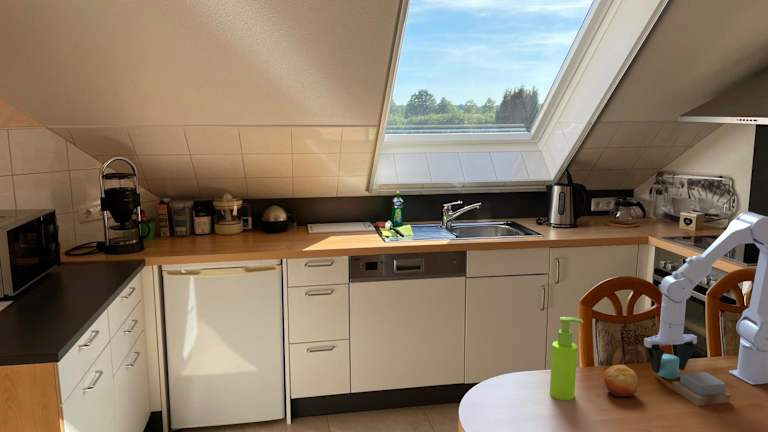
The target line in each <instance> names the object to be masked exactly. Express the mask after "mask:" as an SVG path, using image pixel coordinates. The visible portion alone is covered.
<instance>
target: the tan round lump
mask: <svg viewBox="0 0 768 432" xmlns="http://www.w3.org/2000/svg"><path fill="white" fill-rule="evenodd" d="M603 381H604V382H603V383H604V385H605V387H606V389H607V390H608V391H609V392H610V394H611V395H612V396H614V397H620V398H621V397H632V396H633V395H634V394H636V393H637V390H638V387H639V381H640V380H639V377H638V376H637V373H636V372H635V370H633V369H631V368H630V367H629V366H627V365H625V364H614V365H612V366H609V367H608V368H607V369H606V370H605V371H604V373H603Z"/></svg>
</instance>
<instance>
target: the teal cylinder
mask: <svg viewBox="0 0 768 432" xmlns="http://www.w3.org/2000/svg"><path fill="white" fill-rule="evenodd" d="M679 360H680V359H679V358H678V357H677V355H673V354H671V353H670V354H668V353H664V354H663V356H662V359H661V365H660V371H659V373H656V374H657V376H659V377H660V376H661V377H660V378H662V377H664V378H663V379H666V378H667V379H666V380H677V379H678V378H679V370H680V369H679ZM676 378H677V379H676Z"/></svg>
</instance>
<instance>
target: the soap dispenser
mask: <svg viewBox="0 0 768 432" xmlns="http://www.w3.org/2000/svg"><path fill="white" fill-rule="evenodd" d="M559 321H560V322H561V328H560V329H558V332H557V340H555V341H553V342H552V344H551V362H550V363H551V364H550V383H549V395H550V396H551V397H552V398H554V399H556V400H559V401H570V400H571V401H572V400H573V399H574V398H575V391H576V378H577V375H576V373H577V357H578V345H577V344H576V343H574V342H573V330H571V329H570V323H578V324H583V323H584V320H583V319H582V318H579V317H575V316H572V317H571V316H560V317H559Z"/></svg>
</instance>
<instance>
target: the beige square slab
mask: <svg viewBox="0 0 768 432" xmlns="http://www.w3.org/2000/svg"><path fill="white" fill-rule="evenodd" d="M671 390H673V391H674V392H675V393H677V394H678V395H680V396H681V397H683V398H685V399H686V400H687V401H689V402H690V403H692V404H694V405H695V406H697V407H698V406H707V405H709V406H710V405H716V404H724V403H725V404H727V403H730V399H731V394H730V393H728V392H726V391H725V393H724V394H714V395H704V396H699V395H697V394H696V393H694V392H692V391H691V390H689V389H688V388H686V387H685V386H683V385H682V384H680V380H679V381H678V380H677V381H672V382H671Z"/></svg>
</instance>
